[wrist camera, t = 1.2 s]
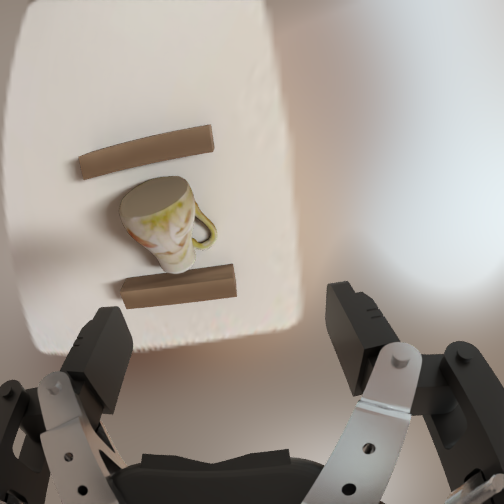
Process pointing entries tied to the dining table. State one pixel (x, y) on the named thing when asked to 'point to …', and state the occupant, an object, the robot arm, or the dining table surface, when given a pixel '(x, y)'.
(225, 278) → the wooden guide rails
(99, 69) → the dining table surface
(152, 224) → the mug
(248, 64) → the dining table surface
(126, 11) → the dining table surface
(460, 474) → the robot arm
